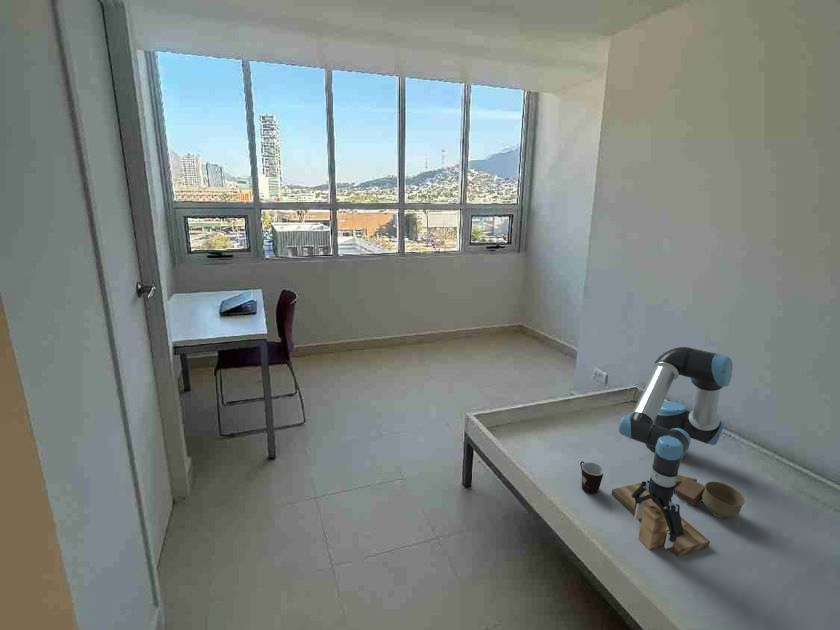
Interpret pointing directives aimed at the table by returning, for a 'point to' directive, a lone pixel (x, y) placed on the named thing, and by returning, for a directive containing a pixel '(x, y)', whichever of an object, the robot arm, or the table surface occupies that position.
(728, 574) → the table surface
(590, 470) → the coffee mug
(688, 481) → the brown wooden blocks
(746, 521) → the table surface
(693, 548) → the board
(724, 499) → the bowl
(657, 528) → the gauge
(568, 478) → the table surface
